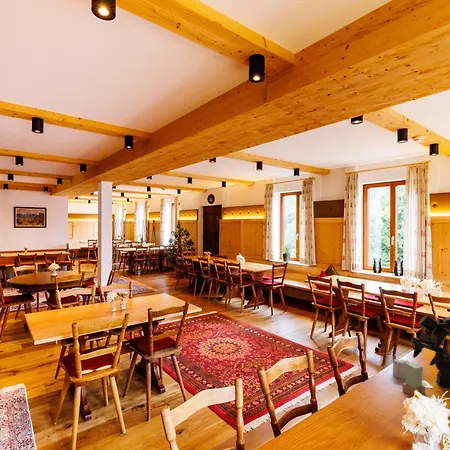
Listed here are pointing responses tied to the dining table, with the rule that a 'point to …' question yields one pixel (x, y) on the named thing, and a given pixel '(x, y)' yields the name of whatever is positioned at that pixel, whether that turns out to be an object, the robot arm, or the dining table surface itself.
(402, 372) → the medicine box
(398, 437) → the dining table surface
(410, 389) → the walnut base block
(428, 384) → the card
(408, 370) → the sage block
